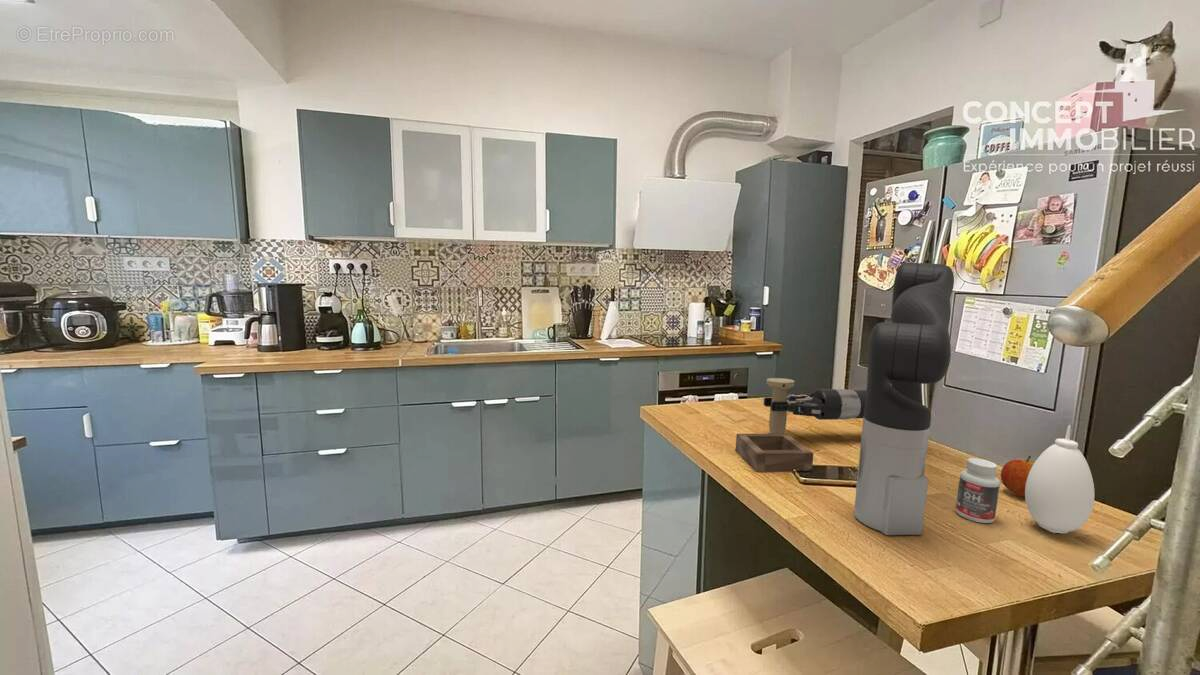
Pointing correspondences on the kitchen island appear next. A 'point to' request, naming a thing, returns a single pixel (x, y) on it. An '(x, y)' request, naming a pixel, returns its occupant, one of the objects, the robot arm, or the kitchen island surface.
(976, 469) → the pill bottle
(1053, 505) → the white air blower bulb
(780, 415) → the handle
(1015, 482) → the fruit
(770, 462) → the socket
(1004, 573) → the kitchen island surface
